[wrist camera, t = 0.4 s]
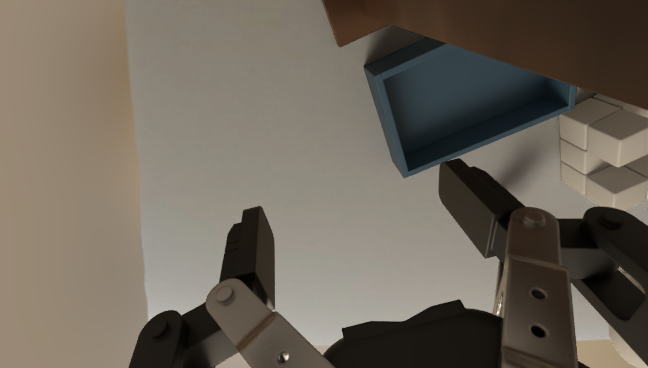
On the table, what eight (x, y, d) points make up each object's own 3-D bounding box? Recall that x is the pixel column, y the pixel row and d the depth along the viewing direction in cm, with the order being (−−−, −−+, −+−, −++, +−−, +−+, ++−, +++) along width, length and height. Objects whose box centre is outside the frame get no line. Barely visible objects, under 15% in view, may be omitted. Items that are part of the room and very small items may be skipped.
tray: (392, 161, 37) (404, 178, 34) (363, 66, 30) (373, 76, 27) (547, 97, 35) (574, 108, 32) (554, -21, 28) (590, -22, 25)
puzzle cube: (647, 140, 41) (718, 170, 34) (560, 180, 43) (612, 216, 36) (661, 61, 34) (752, 78, 28) (558, 112, 36) (620, 140, 30)
